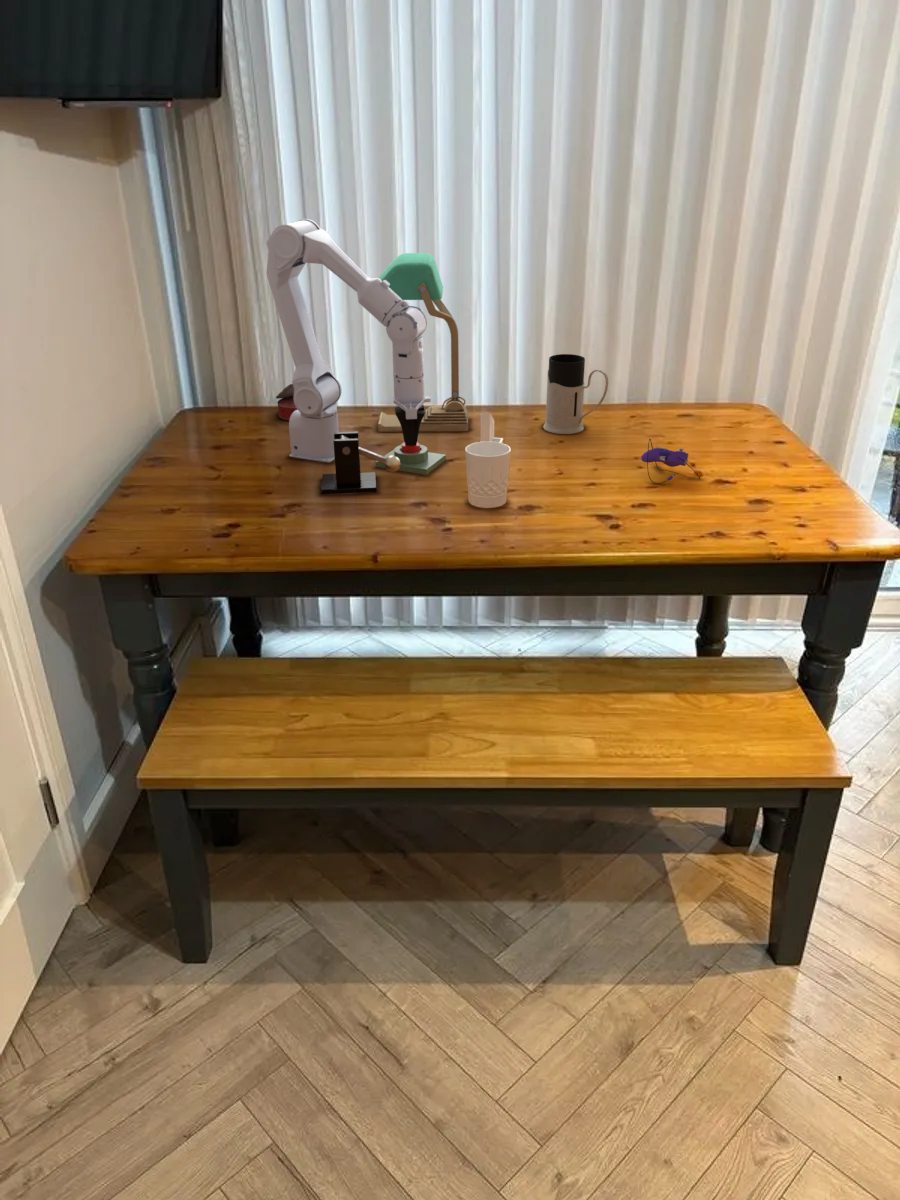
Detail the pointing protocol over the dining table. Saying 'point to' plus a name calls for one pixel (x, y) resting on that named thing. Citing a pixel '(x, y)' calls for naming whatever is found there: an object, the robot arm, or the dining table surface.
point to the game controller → (666, 458)
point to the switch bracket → (347, 468)
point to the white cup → (487, 473)
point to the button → (410, 448)
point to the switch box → (416, 460)
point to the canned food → (286, 402)
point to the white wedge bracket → (487, 428)
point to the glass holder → (567, 394)
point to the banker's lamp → (422, 282)
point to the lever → (380, 458)
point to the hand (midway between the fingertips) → (410, 444)
